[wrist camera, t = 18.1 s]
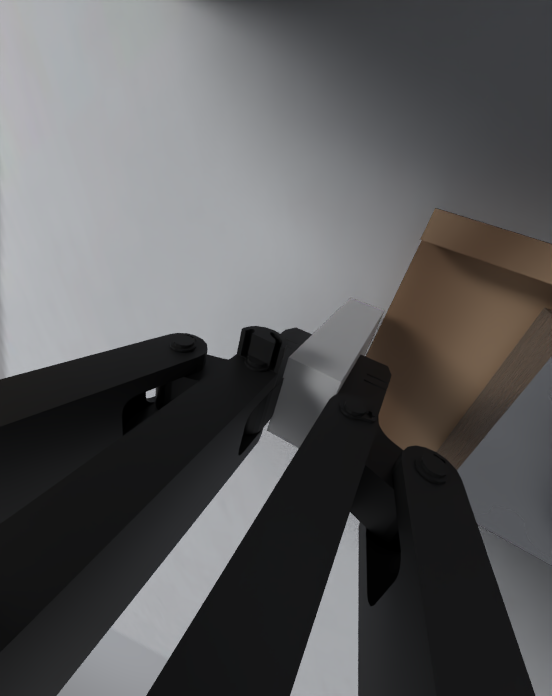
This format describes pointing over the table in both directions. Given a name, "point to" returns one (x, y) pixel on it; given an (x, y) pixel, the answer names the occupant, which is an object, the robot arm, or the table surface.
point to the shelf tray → (456, 323)
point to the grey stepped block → (512, 445)
